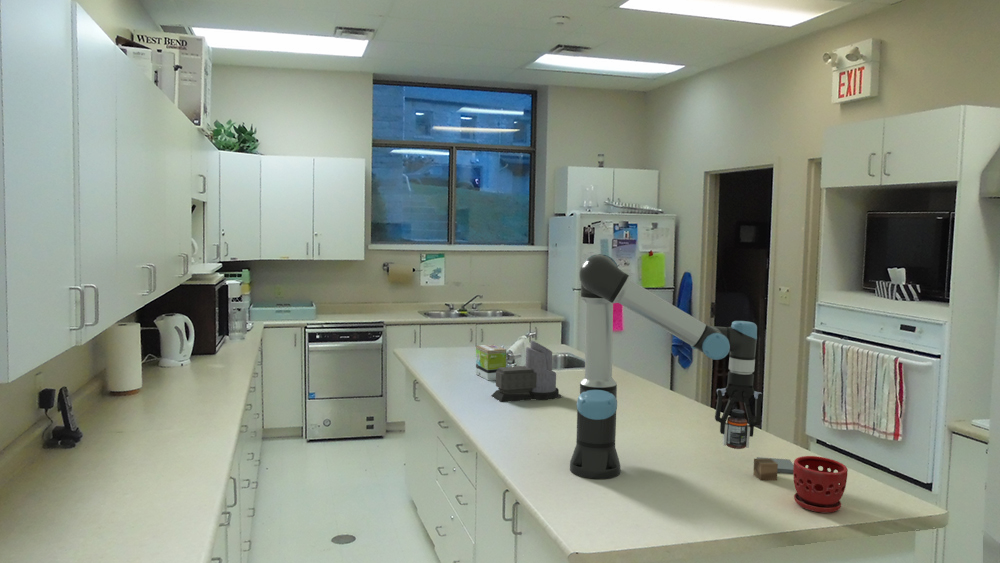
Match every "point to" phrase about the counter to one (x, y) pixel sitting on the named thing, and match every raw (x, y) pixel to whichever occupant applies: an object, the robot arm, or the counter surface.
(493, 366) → the tea box
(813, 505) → the plant pot
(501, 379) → the juicer
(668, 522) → the counter surface
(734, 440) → the supplement bottle
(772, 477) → the walnut cube
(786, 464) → the coaster
